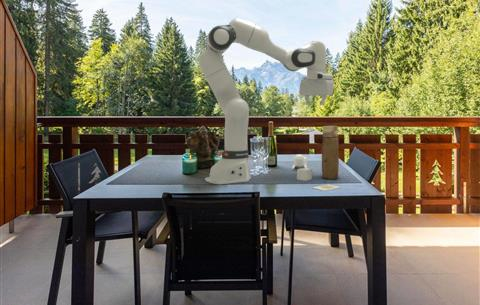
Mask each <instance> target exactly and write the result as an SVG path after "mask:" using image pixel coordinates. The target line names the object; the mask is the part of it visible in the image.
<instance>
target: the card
mask: <svg viewBox="0 0 480 305" xmlns="http://www.w3.org/2000/svg"><path fill="white" fill-rule="evenodd" d="M341 188H342V187H341V186H337V185H334V184H328V183H327V184H324V185H319V186H314V187H313V186H312V189H315V190H318V191H322V192H328V191H333V190H337V189H338V190H339V189H341Z"/></svg>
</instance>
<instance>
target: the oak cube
mask: <svg viewBox="0 0 480 305" xmlns="http://www.w3.org/2000/svg"><path fill="white" fill-rule="evenodd" d="M338 134H339V126H338V125H324V126H322V137H323V138H324V137H337V138H338V137H339V135H338Z"/></svg>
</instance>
